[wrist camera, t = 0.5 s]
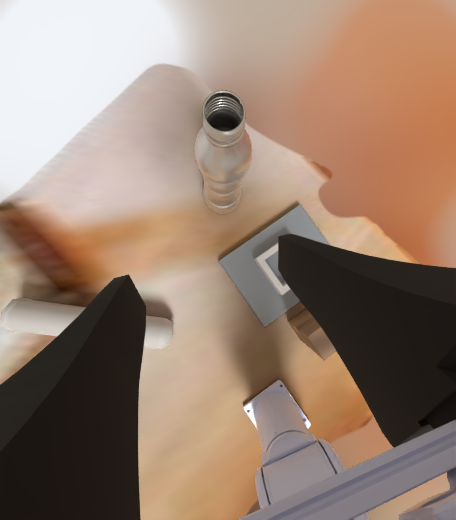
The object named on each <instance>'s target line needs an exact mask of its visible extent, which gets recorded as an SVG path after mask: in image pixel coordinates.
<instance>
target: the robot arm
mask: <svg viewBox="0 0 456 520" xmlns="http://www.w3.org/2000/svg"><path fill="white" fill-rule="evenodd" d="M278 270H279V272H280V274H281V275H282V277H283V279H284V280H285V282H286V284H287V285H288V286H289V288H290V289H291V290H292V291H293V293H294V294H295V295H296V296H297V298H298V299H299V300H300V301H301V302H302V304H303V305H304V306H305V307H306V309H307V310H308V311H309V312H310V313H311V315H312V316H313V317H314V318H315V320H316V321H317V322H318V324H319V325H320V326H321V328H322V329H323V331H324V332H325V334H326V335H327V337H328V338H329V340H330V342H331V343H332V345H333V346H334V348H335V349H336V351H337V353H338V354H339V356H340V357H341V359H342V361H343V362H344V364H345V366H346V367H347V369H348V371H349V372H350V374H351V376H352V378H353V379H354V381H355V383H356V384H357V386H358V388H359V390H360V391H361V393H362V395H363V397H364V399H365V401H366V402H367V404H368V406H369V408H370V410H371V412H372V413H373V415H374V417H375V419H376V421H377V423H378V425H379V427H380V429H381V431H382V433H383V434H384V435H385V437H386V438H387V439H388V441H389V442H390V444H391V445H392V446H393V447H394V448H393V449H391V450H388V451H386V452H384V453H382V454H380V455H378V456H375V457H373V458H371V459H369V460H367V461H364V462H362V463H360V464H358V465H356V466H354V467H351V468H349V469H347V470H346V469H345V467H344V466H343V464H342V462H341V460H340V459H339V457H338V455H337V454H336V452H335V450H334V449H333V447H332V446H331V444H330V443H329V442H327V441H325V440H324V439H323V438H321V439H318V442H317V440H316V438H315V437H314V435H313V433H310V432H309V431H308V428H309V427H310V426H311V423H310V421H309V420H308V419H307V417H306V416H305V414H304V413H303V411H302V410H301V409H300V407H299V406H298V404H297V403H296V401H295V400H294V398H293V397H292V396H291V394H290V393H289V391H288V390H287V388H286V387H285V385H284V384H283V383H282V381H281V380H277V381H276V382H274V383H273V384H272V385H270V386H269V387H268V388H266V389H265V390H264V391H263V392H261V393H260V394H259V395H257V396H256V397H255V398H253V399H252V400H251V401H249V402H248V403H247V404H245V405H244V410H245V412H246V413H247V415H248V416H249V418H250V419H251V421H252V422H253V424H254V425H255V426H256V428H257V430H258V435H259V439H260V443H261V448H262V452H263V455H262V456H261V460H262V465H263V468H262V467H261V466H260V467H258V468H257V473H256V476H255V484H256V490H257V495H258V500H259V504H260V508H261V509H260V510H258V511H255V512H254V513H251V514H249V515H247V516H245V517H242V518H240V519H238V520H369V518H368V516H367V514H366V512H368V511H370V510H372V509H374V508H376V507H378V506H380V505H382V504H384V503H386V502H388V501H390V500H392V499H394V498H396V497H398V496H400V495H402V494H404V493H406V492H408V491H410V490H412V489H414V488H416V487H418V486H420V485H422V484H424V483H426V482H428V481H429V480H432V479H434V478H436V477H438V476H440V475H442V474H444V473H446V472H447V478H448V481H449V483H450V490H448V491H445V492H443V493H440V494H437V495H435V496H432V497H430V498H427V499H426V500H423V501H421V502H419V503H417V504H416V505H414V506H412V507H411V508H409V509H408V510H406V511H404V512H403V513H401V514H400V515H399V520H456V268H447V267H438V266H429V265H428V266H427V265H421V264H414V263H407V262H400V261H394V260H388V259H383V258H378V257H373V256H368V255H364V254H360V253H356V252H352V251H348V250H344V249H341V248H337V247H334V246H331V245H327V244H324V243H321V242H318V241H315V240H311V239H308V238H305V237H302V236H298V235H295V234H286V235H282V236H278ZM145 332H146V306H145V304H144V302H143V300H142V298H141V296H140V294H139V293H138V291H137V289H136V287H135V285H134V283H133V281H132V280H131V278H130V276H129V275H125V276H121V277H117V278H114V279H113V280H112V281H111V282H110V283H109V284H108V285H107V286H106V287H105V288H104V289H103V290H102V291H101V292H100V293H99V294H98V295H97V297H96V298H95V299H94V300H93V301H92V302H91V303H90V304H89V305H88V306H87V307H86V308H85V309H84V310H83V311H82V312H81V314H80V315H79V316H78V317H77V318H76V319H74V320H73V321H72V322H71V323H70V324H69V325H68V326H67V327H66V328H65V329H64V330H63V331H62V332H61V333H60V334H59V335H58V336H57V337H56V338H55V339H54V340H53V341H52V342H51V343H50V344H49V345H48V346H46V347H45V348H44V349H43V350H42V351H41V352H40V353H39V354H37V355H36V356H35V357H34V358H33V359H32V360H30V361H29V362H28V363H27V364H26V365H25V366H23V367H22V368H21V369H20V370H19V371H17V372H16V373H15V374H14V375H12V376H11V377H10V378H9V379H7V380H6V381H5V382H3V383H2V384H1V385H0V520H140V500H139V476H138V397H139V379H140V370H141V363H142V355H143V348H144V340H145ZM280 385H282V386H280ZM247 410H249V411H247ZM304 418H305V420H303V419H304Z"/></svg>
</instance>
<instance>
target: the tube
mask: <svg viewBox="0 0 456 520" xmlns="http://www.w3.org/2000/svg"><path fill="white" fill-rule="evenodd" d="M85 308H86V307H80V306H73V305H65V304H58V303H51V302H43V301H36V300H31V299H30V298H20V299H13V300H12V301H11V302H10V303H9V304H8V305H7V307H6V308H5V309H4V310H3V311H2V312H1V317H0V328H2V329H4V330H6V331H8V332H14V331H20V332H28V333H36V334H44V335H51V336H58V335H59V334H60V333H61V332H62V331H63V330H64V329H65V328H66V327H67V326H68V325H69V324H70V323H71V322H72V321H73V320H74V319H76V318H77V317H78V316H79V315H80V314H81V312H82V311H83V310H84V309H85ZM172 337H173V322H171V321H170V320H168V319H167V318H162V317H154V316H147V315H146V332H145V340H144V347H145V348H153V349H162V348H164V347H167V346H169V343H170V341H171V339H172Z"/></svg>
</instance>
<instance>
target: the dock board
mask: <svg viewBox="0 0 456 520" xmlns="http://www.w3.org/2000/svg"><path fill="white" fill-rule="evenodd" d="M286 234H295V235H298V236H302V237H305V238H308V239H311V240H315V241H318V242H321V243H324V244H327V245H329V243H328V242H327V240H326V239H325V238H324V236H323V235H322V233H321V232H320V231H319V229H318V228H317V226H316V225H315V224H314V222H313V221H312V219H311V218H310V217H309V215H308V214H307V212H306V211H305V210H304V208H303V207H302V205H301V204H300V205H299V206H297V207H296V208H294V209H293V210H291V211H290V212H289V213H287V214H286V215H284V216H283V217H281V218H280V219H279V220H277V221H276V222H274V223H273V224H271V225H270V226H268V227H267V228H266V229H264V230H263V231H261V232H260V233H258V234H257V235H255V236H254V237H253V238H251V239H250V240H248V241H247V242H245V243H244V244H243V245H241V246H240V247H238V248H237V249H235V250H234V251H232V252H231V253H230V254H228V255H227V256H225V257H224V258H222V259H221V260H220V261H219V262H220V264H221V265H222V267H223V268H224V270H225V271H226V272H227V274H228V275H229V277H230V278H231V280H232V281H233V283H234V284H235V285H236V287H237V288H238V290H239V291H240V293H241V294H242V295H243V297H244V298H245V300H246V301H247V303H248V304H249V305H250V307H251V308H252V310H253V311H254V313H255V314H256V315H257V317H258V318H259V320H260V321H261V323H262V324H263V325H264V327H266V326H267V325H269V324H270V323H271V322H273V321H274V320H275V319H277V318H278V317H279V316H281V315H282V314H284V313H285V312H286V311H288V310H289V309H290V308H292V307H293V306H295V305H296V304H297V303H299V302H300V300H299V299H298V298H297V296H296V295H295V294H294V293H293V291H292V290H291V289H290V288H289V286H288V285H287V284H286V282H285V280H284V279H283V277H282V275H281V274H280V272H279V270H278V236H282V235H286Z"/></svg>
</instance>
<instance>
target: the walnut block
mask: <svg viewBox="0 0 456 520" xmlns="http://www.w3.org/2000/svg"><path fill="white" fill-rule="evenodd" d="M288 322H289V324H290V325H291V327H292V328H293V330H294V331H295V332H296V334H297V335H298V337H299V338H300V340H301V341H303V342H304V343H305V344H306V345H307V346H308V347H309V348H311V349H312V350H313V351H314V352H315V353H316V354H317V355H319V356H320V357H321V358H322V359H323V360H326V359H327V358H328V357H330V356H331V355H332V354H334V353H335V352H336V349H335V348H334V346H333V345H332V343H331V342H330V340H329V338H328V337H327V335H326V334H325V332H324V331H323V329H322V328H321V326H320V325H319V324H318V322H317V321H316V320H315V318H314V317H313V316H312V315H311V313H310V312H309V311H308V310H307V309H304V310H303V311H302V312H300V313H299V314H298V315H296V316H295V317H293V318H292V319H291V320H289V321H288Z"/></svg>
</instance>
